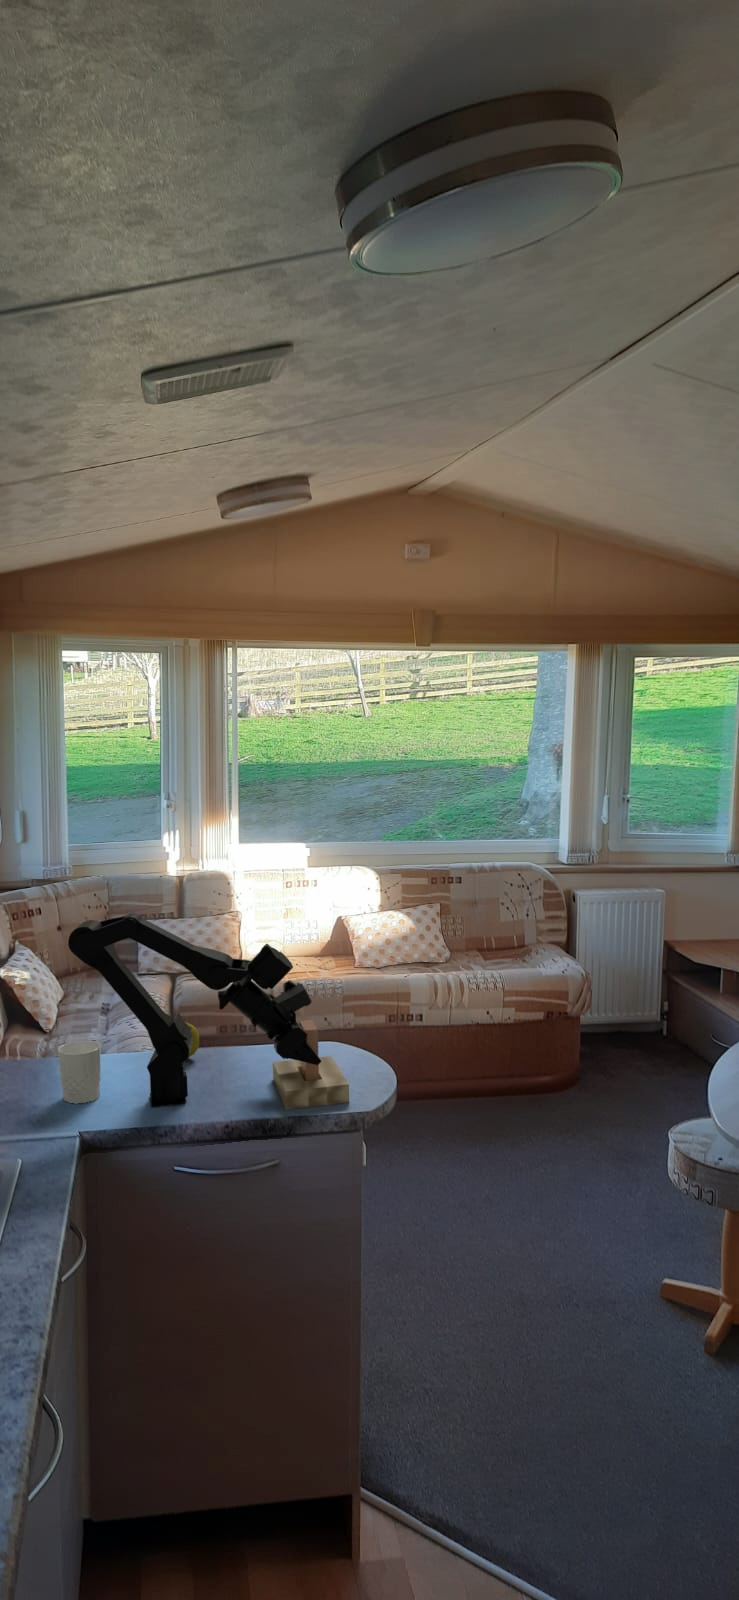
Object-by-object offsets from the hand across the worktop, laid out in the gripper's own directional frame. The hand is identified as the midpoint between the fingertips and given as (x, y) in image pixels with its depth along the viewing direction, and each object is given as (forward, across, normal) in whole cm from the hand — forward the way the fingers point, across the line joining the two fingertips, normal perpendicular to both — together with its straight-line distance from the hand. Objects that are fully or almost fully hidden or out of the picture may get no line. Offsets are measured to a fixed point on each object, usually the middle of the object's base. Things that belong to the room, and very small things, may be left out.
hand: (315, 1055), depth 200 cm
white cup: (-26, +9, +36) cm, 46 cm away
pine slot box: (+4, 0, +6) cm, 7 cm away
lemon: (-11, +25, +21) cm, 35 cm away
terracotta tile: (+4, 0, +6) cm, 7 cm away
